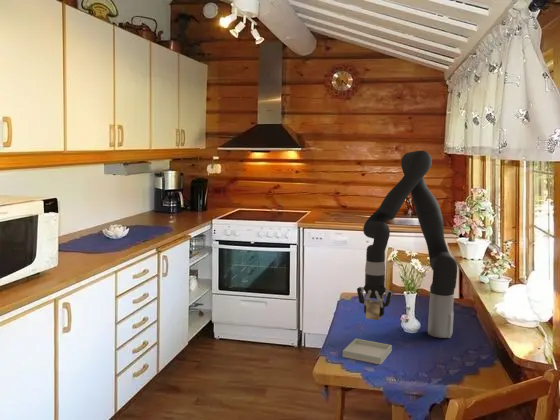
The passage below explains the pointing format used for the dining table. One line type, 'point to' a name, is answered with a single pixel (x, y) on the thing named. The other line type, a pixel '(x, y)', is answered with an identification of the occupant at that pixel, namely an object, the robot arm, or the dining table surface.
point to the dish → (367, 351)
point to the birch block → (373, 310)
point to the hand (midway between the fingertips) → (374, 315)
